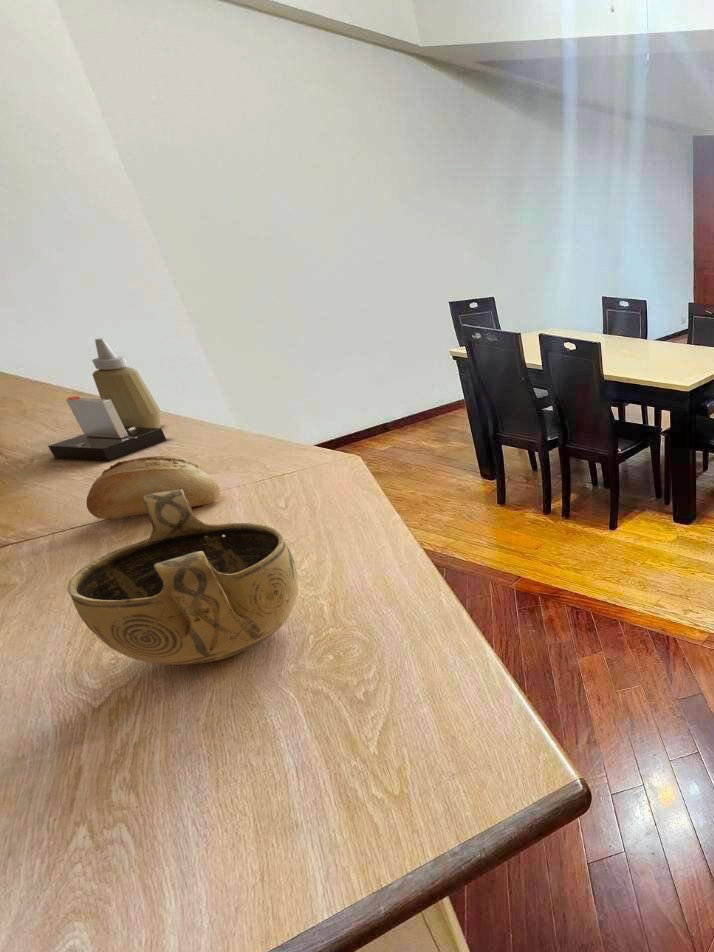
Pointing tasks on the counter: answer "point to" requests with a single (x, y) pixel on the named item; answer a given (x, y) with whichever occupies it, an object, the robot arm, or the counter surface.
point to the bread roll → (147, 485)
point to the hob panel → (107, 445)
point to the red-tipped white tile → (97, 417)
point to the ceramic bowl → (188, 588)
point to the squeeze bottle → (124, 389)
